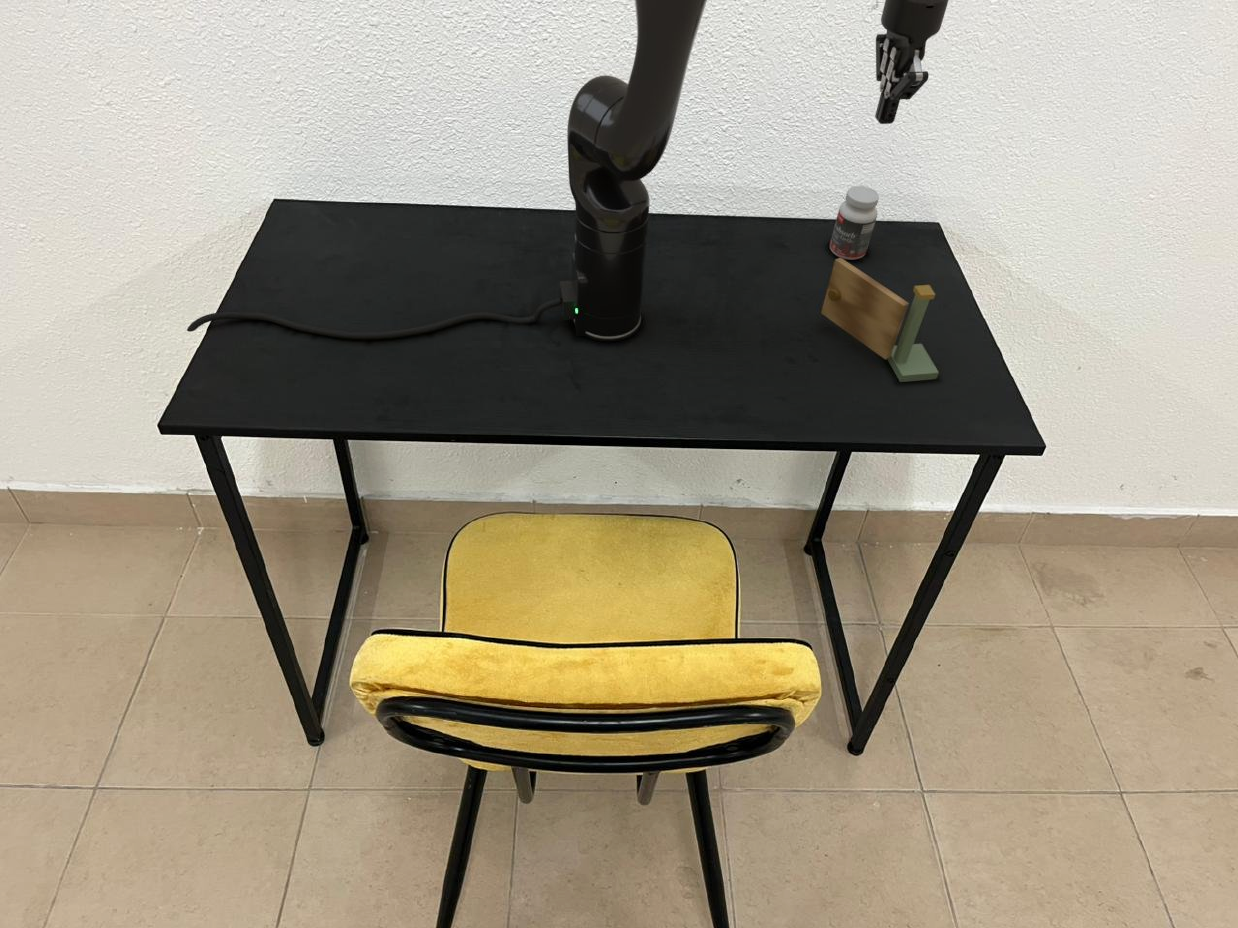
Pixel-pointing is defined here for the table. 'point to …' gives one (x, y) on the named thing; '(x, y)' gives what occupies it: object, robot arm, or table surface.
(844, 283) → the door
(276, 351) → the table surface
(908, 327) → the door frame
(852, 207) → the pill bottle
